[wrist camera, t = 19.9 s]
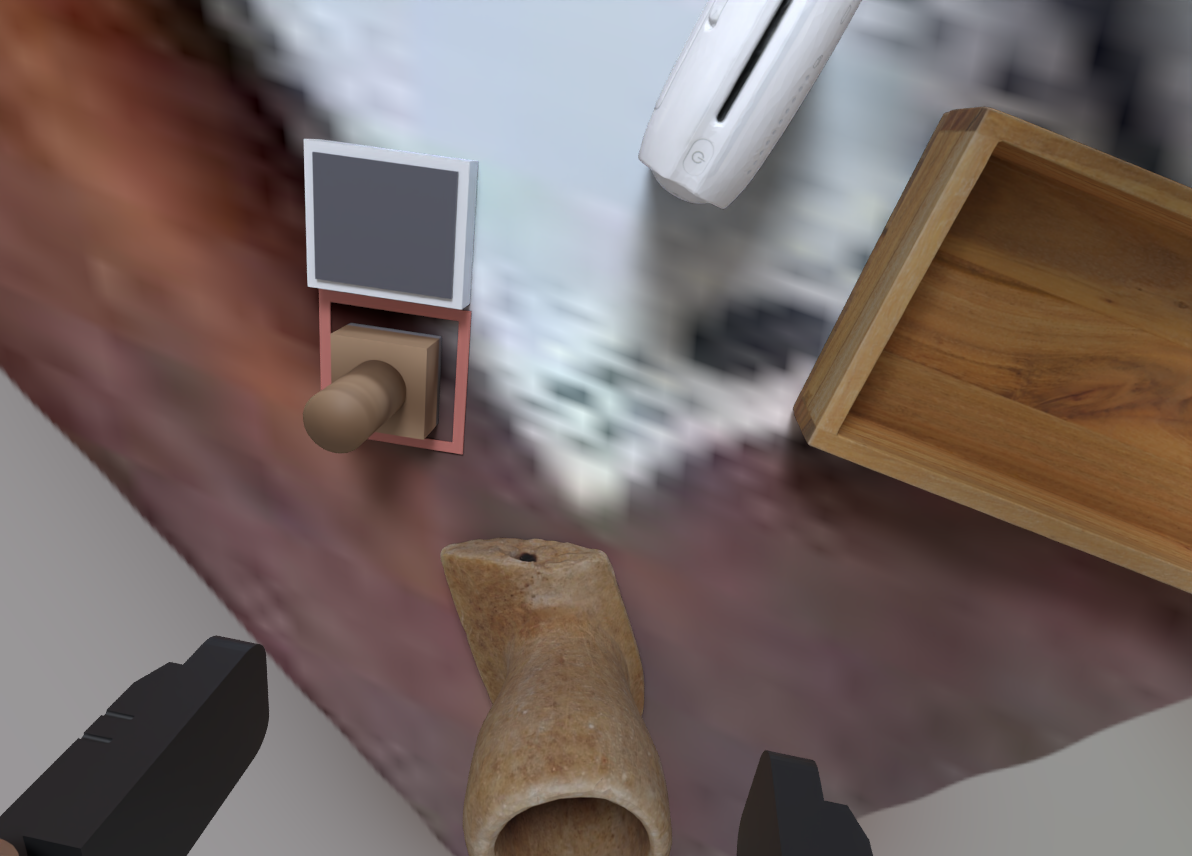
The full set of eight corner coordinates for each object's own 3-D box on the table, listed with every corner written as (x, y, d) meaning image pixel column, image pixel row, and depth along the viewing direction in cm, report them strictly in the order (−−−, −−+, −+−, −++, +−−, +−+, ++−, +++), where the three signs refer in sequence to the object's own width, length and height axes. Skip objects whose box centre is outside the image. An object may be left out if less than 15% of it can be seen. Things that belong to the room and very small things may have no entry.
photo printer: (715, 206, 35) (730, 237, 23) (637, 159, 34) (614, 168, 23) (846, -15, 31) (941, -107, 19) (760, -70, 30) (806, -197, 19)
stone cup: (688, 715, 46) (691, 963, 32) (510, 730, 48) (439, 968, 34) (644, 503, 41) (624, 689, 27) (447, 530, 43) (333, 715, 29)
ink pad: (318, 139, 36) (301, 139, 34) (478, 160, 35) (468, 161, 33) (321, 281, 38) (305, 287, 37) (469, 303, 38) (460, 310, 36)
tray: (1552, 360, 33) (1714, 400, 28) (1315, 611, 39) (1413, 684, 34) (940, 108, 32) (989, 102, 27) (788, 404, 38) (805, 445, 33)
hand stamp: (351, 322, 39) (279, 361, 32) (442, 336, 39) (389, 378, 32) (351, 409, 41) (283, 464, 34) (438, 422, 40) (388, 480, 34)
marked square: (319, 288, 38) (318, 288, 38) (471, 311, 38) (470, 311, 38) (322, 431, 41) (321, 431, 41) (462, 453, 41) (462, 454, 41)
